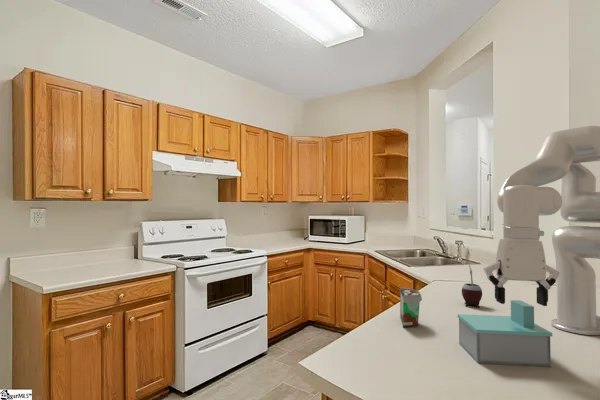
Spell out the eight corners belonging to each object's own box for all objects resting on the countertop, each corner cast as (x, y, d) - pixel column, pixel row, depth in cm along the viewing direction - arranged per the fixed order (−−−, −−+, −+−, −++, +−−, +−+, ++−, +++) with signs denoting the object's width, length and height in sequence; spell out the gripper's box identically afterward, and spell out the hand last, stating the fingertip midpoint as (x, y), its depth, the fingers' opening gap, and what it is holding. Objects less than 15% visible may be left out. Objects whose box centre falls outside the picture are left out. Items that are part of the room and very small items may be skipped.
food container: (424, 330, 102) (424, 296, 103) (403, 329, 104) (403, 295, 104) (419, 318, 114) (419, 288, 115) (399, 317, 116) (400, 287, 116)
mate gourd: (473, 309, 127) (472, 268, 128) (455, 303, 134) (455, 265, 135) (487, 307, 130) (486, 267, 131) (469, 302, 137) (469, 264, 138)
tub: (522, 346, 91) (521, 320, 91) (550, 366, 79) (550, 336, 79) (459, 343, 92) (459, 317, 93) (477, 362, 80) (477, 332, 81)
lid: (522, 324, 91) (522, 297, 91) (552, 341, 79) (551, 310, 79) (457, 321, 93) (457, 295, 93) (476, 338, 80) (476, 308, 81)
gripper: (548, 235, 89) (548, 302, 88) (478, 232, 91) (478, 298, 90) (567, 236, 81) (568, 309, 81) (491, 234, 83) (491, 305, 82)
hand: (521, 303), depth 85 cm, fingers open, 9 cm apart
